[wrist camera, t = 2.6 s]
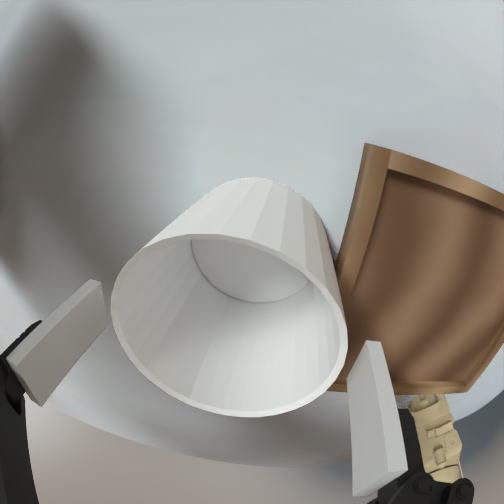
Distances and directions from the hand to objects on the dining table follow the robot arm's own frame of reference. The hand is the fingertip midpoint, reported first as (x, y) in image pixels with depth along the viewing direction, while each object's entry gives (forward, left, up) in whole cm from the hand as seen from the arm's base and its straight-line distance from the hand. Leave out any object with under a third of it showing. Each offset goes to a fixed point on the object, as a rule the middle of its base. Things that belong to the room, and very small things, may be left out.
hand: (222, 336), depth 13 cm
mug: (0, 0, -7) cm, 7 cm away
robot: (+21, -15, -7) cm, 27 cm away
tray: (+15, 0, -7) cm, 16 cm away
